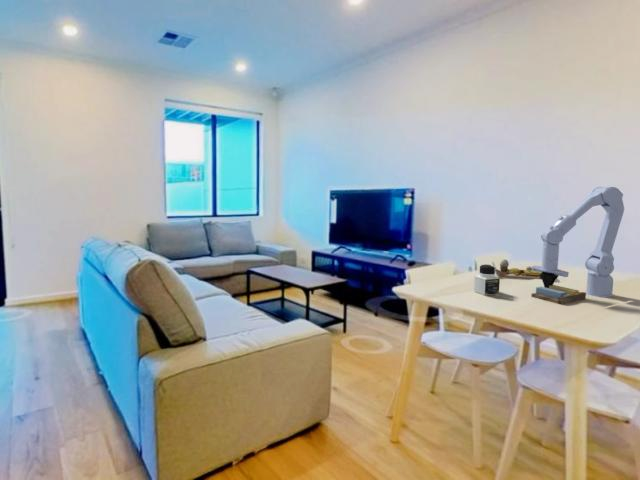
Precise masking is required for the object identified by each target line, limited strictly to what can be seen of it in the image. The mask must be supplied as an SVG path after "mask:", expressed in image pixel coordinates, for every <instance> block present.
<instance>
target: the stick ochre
mask: <svg viewBox="0 0 640 480" xmlns="http://www.w3.org/2000/svg"><path fill="white" fill-rule="evenodd" d="M549 289H554V290H558V291H562V292H566V295H568V294H569V295H571V294H573V293H577V292H580V290H578V289H574V288H569V287H565V286H559V285H556V284H553V285H551V286H549Z"/></svg>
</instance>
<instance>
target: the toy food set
mask: <svg viewBox="0 0 640 480" xmlns="http://www.w3.org/2000/svg"><path fill="white" fill-rule="evenodd" d="M491 265H493V266H495V275H496V277H498V278H500V279H504V280H505V279H507V280H521V281H523V280H525V281H532V280H542V279H541V277H540V274H541V273H542V272H538V271H532V266H527V267H526V269H519V268H516V267H512V268H509V266H510V263H509V261H508V260H507V259H506V258H505V259H502V260H501V262H500V263H499V269H497V266H496V264H495V262H494V261H492V264H491Z"/></svg>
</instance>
